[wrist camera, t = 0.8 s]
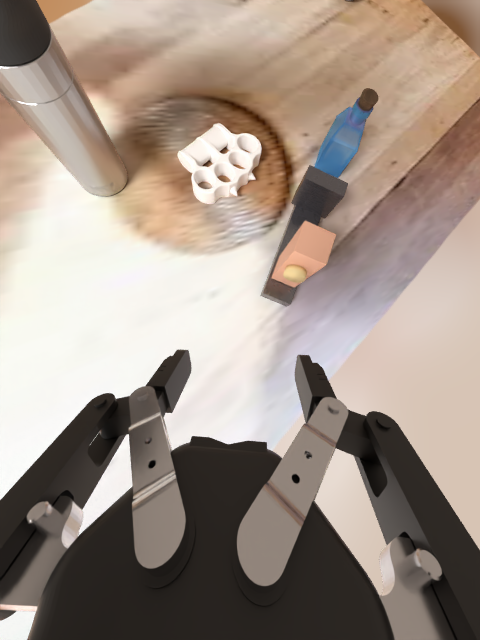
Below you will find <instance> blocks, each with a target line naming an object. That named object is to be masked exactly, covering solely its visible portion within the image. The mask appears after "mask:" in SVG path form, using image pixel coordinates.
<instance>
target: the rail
mask: <svg viewBox="0 0 480 640" xmlns="http://www.w3.org/2000/svg"><path fill="white" fill-rule="evenodd" d="M347 185H348V183H346V182H344V181H342V180H340V179H338V178H336V177H334V176H331V175H329V174H327V173H325V172H323V171H321V170H319V169H317V168H315V167H313V166H310V165H309V167H308V169H307V171H306V173H305V175H304V177H303V179H302V181H301V183H300V185H299V187H298V189H297V190H296V193H295V195H294V198H293V200H292V204H294V208H293V210H292V213H291V216H290V218H289V221H288V224H287V226H286V229H285V232H284V234H283V237H282V240H281V242H280V245H279V248H278V250H277V253H276V256H275V258H274V261H273V264H272V266H271V269H270V272H269V274H268V277H267V280H266V282H265V285H264V288H263V290H262V293H261V296H263V297H265V298H267V299H270V300H272V301H275V302H277V303H280V304H282V305H284V306H289V305H290V304H291V302H292V299H293V296H294V293H295V290H296V287H297V286H296V287H291V286H289V285H286V284H284V283H282V282H279V281H277V280H275V279H272V278H271V277H272V275H273V272H274V269H275V267H276V264H277V261H278V259H279V256H280V255H281V253H282V252H283V251H284V249H285V248H286V246H287V245H288V244H289V242H290V241H291V239H292V238H293V237H294V235H295V234H296V232H297V231H298V230H299V228H300V227H301V225H302V224H303V223H304V221H307V222H310V223H312V224H314V225H316V226H318V223H319V220H320V217H323V218H326V217H327V215H328V214H329V213H330V212H331V211H332V210H333V208H334V207H335V206H336V205H337V204H338V203H339V202H340V200H341V199H342V198H343V197H344V195H345V192H346V188H347Z"/></svg>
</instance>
